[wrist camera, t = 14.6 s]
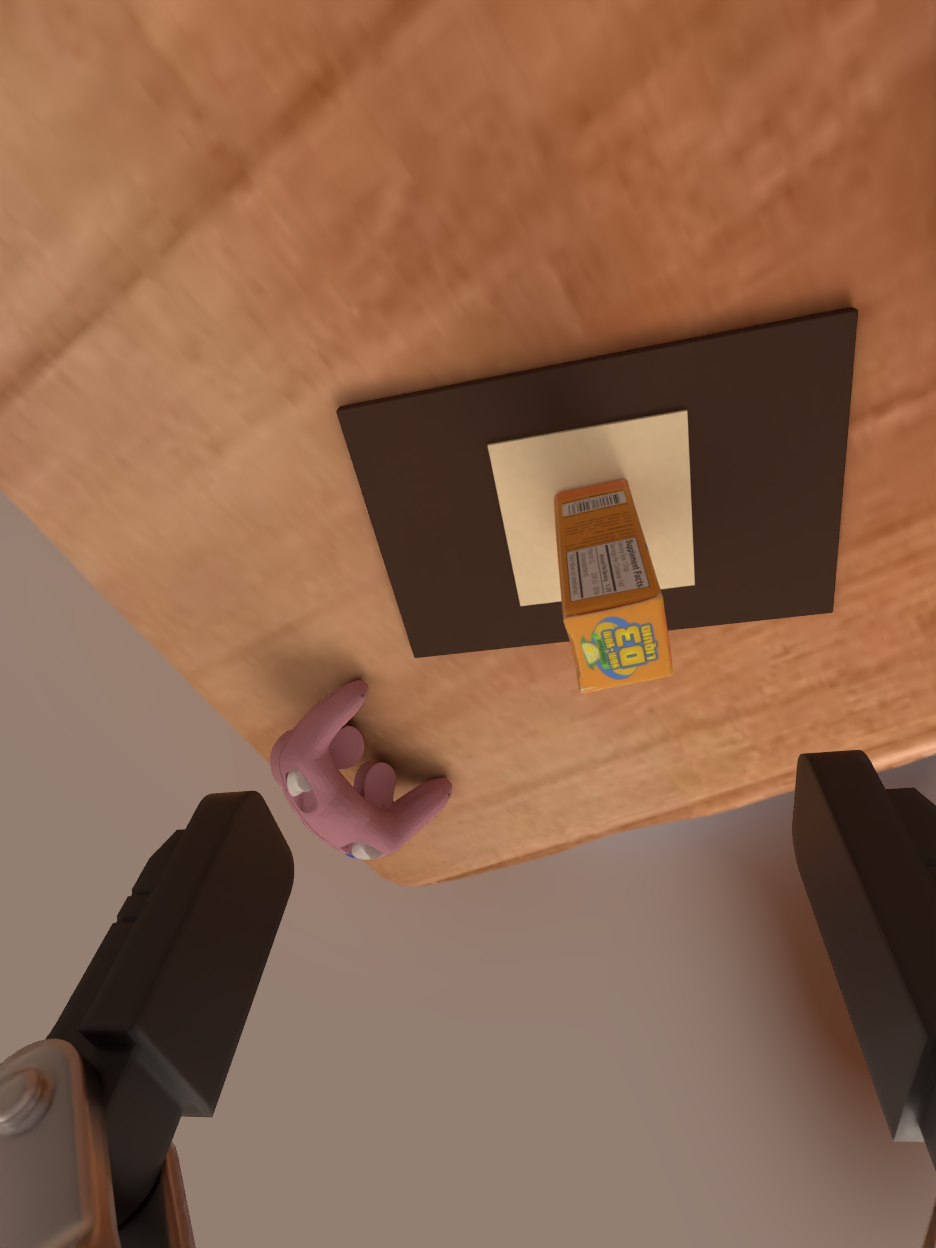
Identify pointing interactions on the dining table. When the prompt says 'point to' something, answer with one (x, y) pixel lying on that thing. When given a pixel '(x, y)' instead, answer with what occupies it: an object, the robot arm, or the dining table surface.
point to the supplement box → (609, 589)
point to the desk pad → (607, 451)
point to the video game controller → (329, 801)
